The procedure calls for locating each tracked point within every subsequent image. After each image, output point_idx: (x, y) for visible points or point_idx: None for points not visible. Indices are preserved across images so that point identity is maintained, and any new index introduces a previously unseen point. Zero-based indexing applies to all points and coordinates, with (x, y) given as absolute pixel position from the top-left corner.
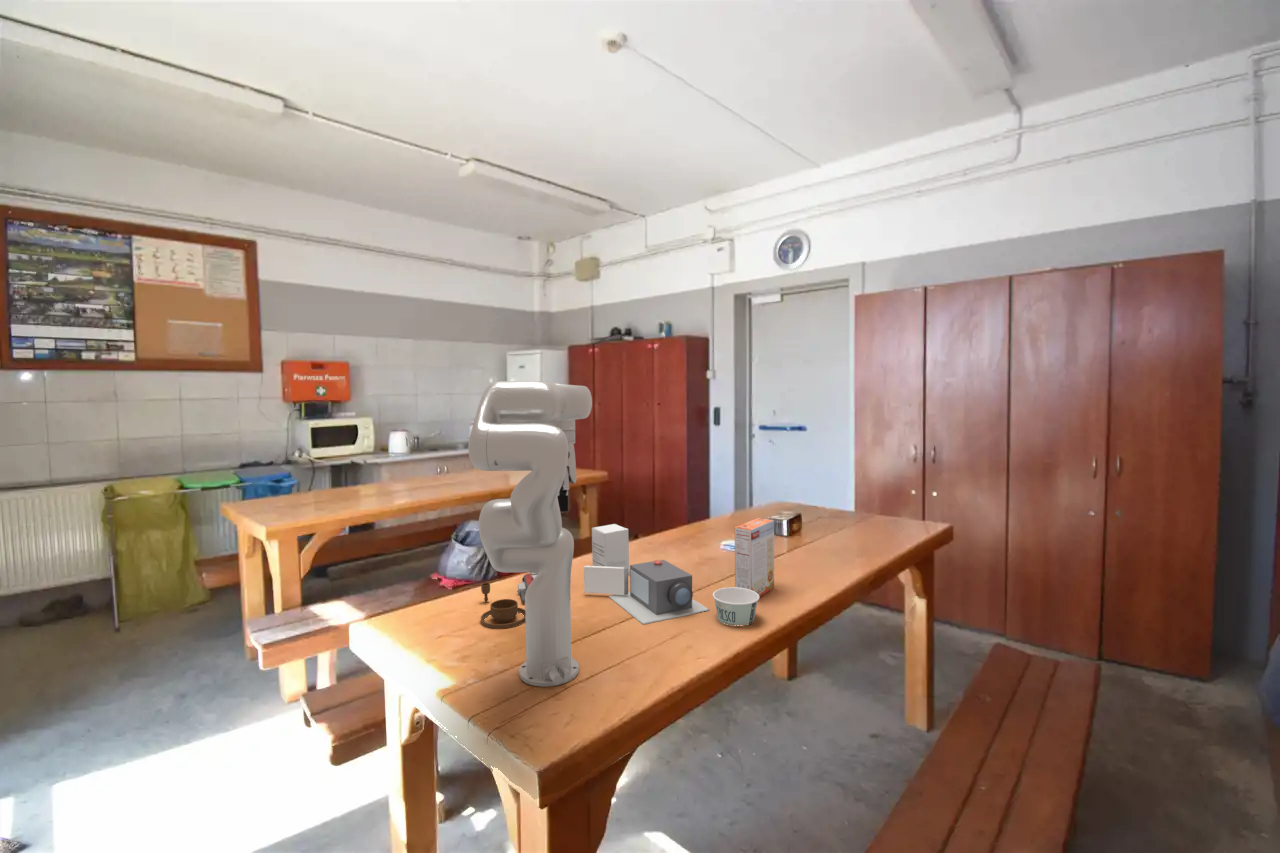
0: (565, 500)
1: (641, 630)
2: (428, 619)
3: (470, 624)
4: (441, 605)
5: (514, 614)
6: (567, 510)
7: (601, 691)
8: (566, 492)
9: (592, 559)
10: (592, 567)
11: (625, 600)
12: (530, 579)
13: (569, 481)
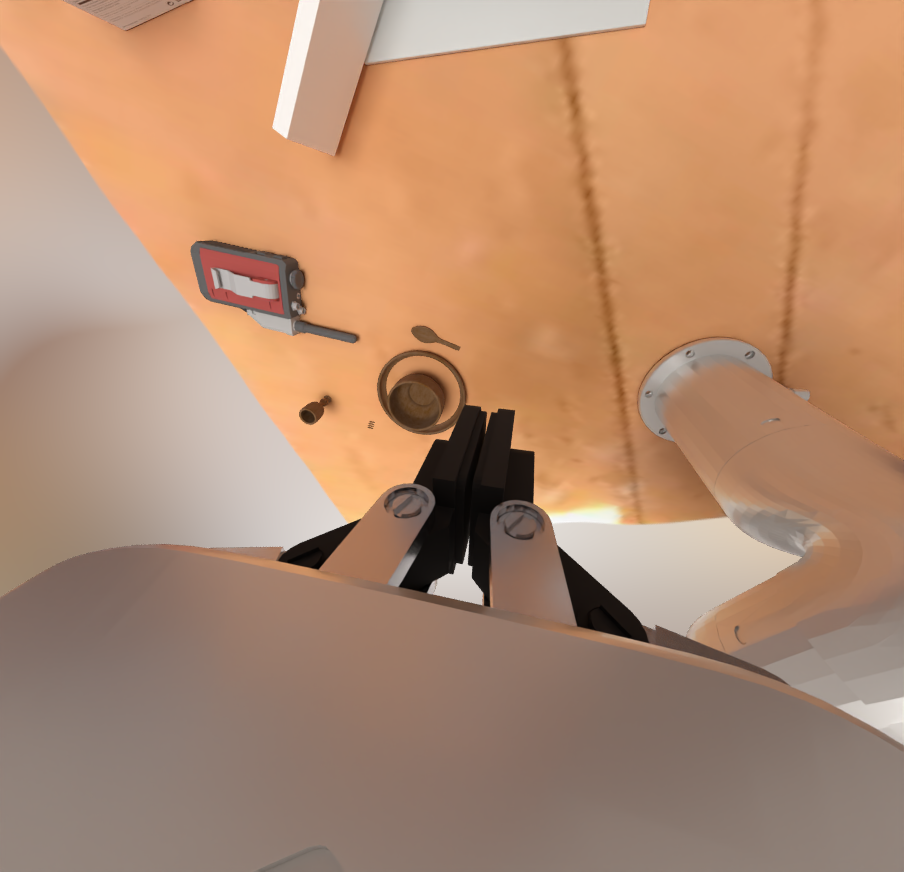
0: (532, 489)
1: (677, 58)
2: (377, 486)
3: (421, 444)
4: (324, 461)
5: (438, 385)
6: (514, 412)
7: (863, 331)
8: (579, 567)
9: (73, 5)
10: (296, 99)
11: (427, 3)
12: (245, 296)
13: (361, 580)
